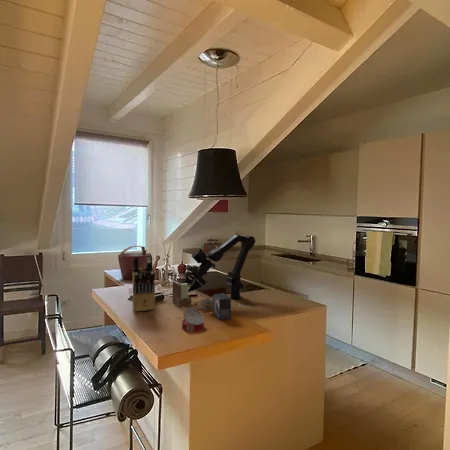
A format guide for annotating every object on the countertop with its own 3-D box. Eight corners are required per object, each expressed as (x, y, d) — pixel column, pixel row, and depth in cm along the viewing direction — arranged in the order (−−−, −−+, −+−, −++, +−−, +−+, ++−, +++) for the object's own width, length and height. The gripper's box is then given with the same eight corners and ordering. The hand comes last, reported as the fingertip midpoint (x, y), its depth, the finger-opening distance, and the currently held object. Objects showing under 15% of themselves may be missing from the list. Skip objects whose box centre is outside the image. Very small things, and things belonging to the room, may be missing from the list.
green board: (186, 302, 186) (186, 283, 186) (188, 303, 185) (188, 283, 184) (179, 303, 184) (179, 283, 184) (181, 304, 183) (181, 284, 182)
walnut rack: (188, 302, 191) (189, 279, 190) (195, 306, 183) (195, 282, 183) (172, 304, 186) (172, 281, 186) (178, 308, 178) (178, 284, 178)
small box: (212, 314, 169) (212, 293, 169) (223, 312, 171) (224, 292, 171) (218, 320, 159) (219, 299, 159) (231, 319, 162) (231, 298, 161)
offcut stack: (210, 306, 183) (210, 297, 183) (216, 309, 177) (216, 300, 177) (197, 308, 179) (197, 299, 179) (203, 311, 173) (203, 302, 173)
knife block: (132, 318, 162) (132, 255, 161) (132, 299, 196) (132, 247, 195) (156, 316, 165) (156, 254, 164) (152, 298, 199) (152, 246, 198)
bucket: (142, 274, 273) (142, 244, 272) (155, 278, 256) (155, 246, 255) (113, 277, 258) (113, 245, 257) (125, 282, 241) (124, 248, 240)
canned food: (199, 334, 154) (209, 314, 155) (198, 340, 144) (209, 319, 145) (178, 322, 154) (188, 303, 155) (175, 328, 144) (186, 307, 145)
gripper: (187, 257, 195) (169, 277, 190) (201, 261, 179) (182, 284, 174) (199, 269, 199) (182, 289, 194) (214, 275, 183) (195, 297, 178)
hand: (185, 289), depth 185 cm, fingers open, 9 cm apart
